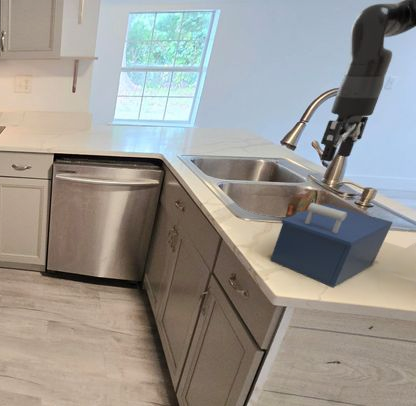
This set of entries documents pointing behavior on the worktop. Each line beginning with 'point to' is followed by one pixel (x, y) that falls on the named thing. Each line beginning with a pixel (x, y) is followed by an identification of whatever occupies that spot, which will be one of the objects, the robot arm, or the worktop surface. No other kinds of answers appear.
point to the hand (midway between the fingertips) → (335, 158)
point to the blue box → (325, 254)
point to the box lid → (337, 223)
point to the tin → (301, 202)
